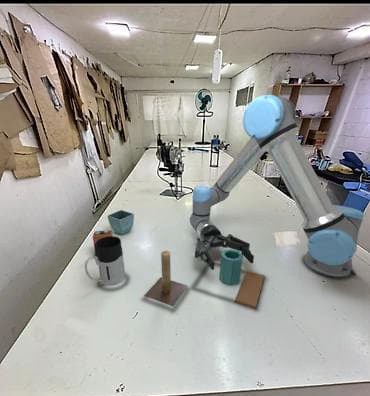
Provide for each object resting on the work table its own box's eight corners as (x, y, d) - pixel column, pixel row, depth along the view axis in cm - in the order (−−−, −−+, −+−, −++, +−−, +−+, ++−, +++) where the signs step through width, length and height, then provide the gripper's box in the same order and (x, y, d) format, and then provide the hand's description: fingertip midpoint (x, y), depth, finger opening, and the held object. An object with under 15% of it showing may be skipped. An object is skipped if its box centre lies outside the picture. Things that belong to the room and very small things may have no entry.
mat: (264, 277, 81) (264, 275, 81) (255, 308, 68) (256, 306, 68) (209, 263, 89) (209, 260, 89) (192, 288, 76) (192, 286, 75)
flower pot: (122, 238, 106) (120, 219, 103) (108, 233, 111) (106, 215, 107) (135, 230, 113) (134, 213, 109) (122, 226, 117) (121, 209, 114)
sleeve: (241, 277, 79) (244, 252, 75) (236, 289, 74) (239, 262, 70) (223, 272, 82) (225, 247, 78) (217, 283, 77) (219, 257, 73)
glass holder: (132, 277, 81) (128, 238, 74) (102, 304, 69) (95, 261, 63) (112, 270, 84) (107, 233, 78) (81, 295, 72) (71, 253, 66)
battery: (113, 255, 93) (110, 232, 89) (95, 256, 92) (91, 234, 88) (114, 249, 97) (111, 227, 93) (97, 250, 96) (93, 228, 92)
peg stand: (188, 289, 75) (188, 248, 69) (173, 310, 67) (172, 266, 61) (161, 280, 79) (159, 241, 73) (144, 299, 71) (140, 257, 65)
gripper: (236, 237, 97) (266, 266, 79) (178, 245, 91) (195, 279, 73) (238, 221, 94) (269, 247, 76) (178, 228, 88) (195, 258, 69)
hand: (233, 263), depth 74 cm, fingers open, 13 cm apart
